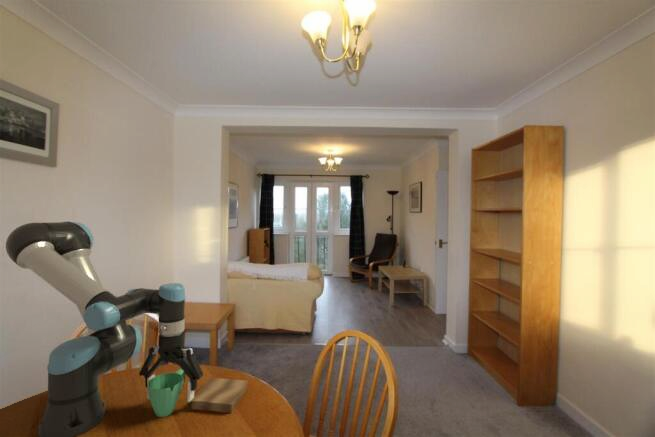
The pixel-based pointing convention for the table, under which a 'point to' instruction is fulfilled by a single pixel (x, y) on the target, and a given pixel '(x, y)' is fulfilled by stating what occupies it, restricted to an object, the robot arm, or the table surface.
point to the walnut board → (219, 395)
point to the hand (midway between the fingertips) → (171, 398)
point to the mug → (165, 391)
